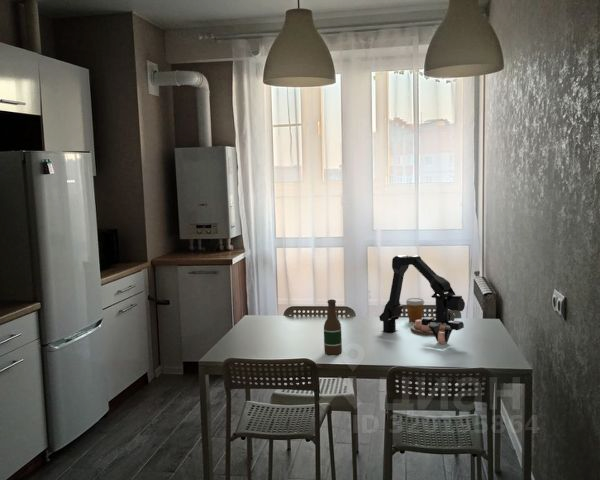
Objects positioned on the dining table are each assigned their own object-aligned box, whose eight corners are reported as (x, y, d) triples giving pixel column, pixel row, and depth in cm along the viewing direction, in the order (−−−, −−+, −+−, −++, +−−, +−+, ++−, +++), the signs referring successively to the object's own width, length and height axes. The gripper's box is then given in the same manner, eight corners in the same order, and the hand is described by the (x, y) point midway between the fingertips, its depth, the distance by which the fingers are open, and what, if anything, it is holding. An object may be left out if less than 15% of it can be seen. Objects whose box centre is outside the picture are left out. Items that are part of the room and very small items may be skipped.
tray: (438, 338, 285) (438, 334, 284) (404, 333, 297) (404, 328, 296) (456, 330, 298) (456, 326, 298) (423, 325, 310) (423, 321, 310)
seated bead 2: (426, 334, 291) (426, 324, 290) (419, 333, 293) (419, 322, 293) (430, 332, 294) (430, 322, 293) (423, 331, 296) (423, 321, 296)
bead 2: (444, 345, 273) (444, 334, 272) (436, 344, 276) (436, 333, 275) (448, 343, 276) (448, 332, 275) (440, 342, 279) (440, 331, 278)
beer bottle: (331, 349, 272) (329, 297, 270) (345, 352, 267) (344, 299, 265) (320, 354, 266) (319, 300, 264) (335, 357, 261) (333, 302, 259)
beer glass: (402, 321, 320) (402, 299, 319) (417, 319, 324) (417, 297, 323) (413, 325, 311) (412, 302, 310) (428, 322, 315) (428, 300, 314)
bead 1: (444, 332, 293) (444, 322, 292) (436, 331, 294) (436, 321, 294) (445, 330, 297) (445, 320, 296) (437, 329, 298) (437, 319, 298)
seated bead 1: (421, 332, 295) (420, 321, 295) (413, 330, 298) (413, 320, 297) (425, 330, 298) (425, 320, 298) (418, 329, 301) (417, 319, 300)
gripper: (469, 307, 274) (469, 340, 276) (432, 302, 286) (432, 334, 288) (457, 311, 266) (458, 346, 267) (420, 307, 278) (420, 340, 279)
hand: (442, 341), depth 276 cm, fingers closed on bead 2, 4 cm apart
